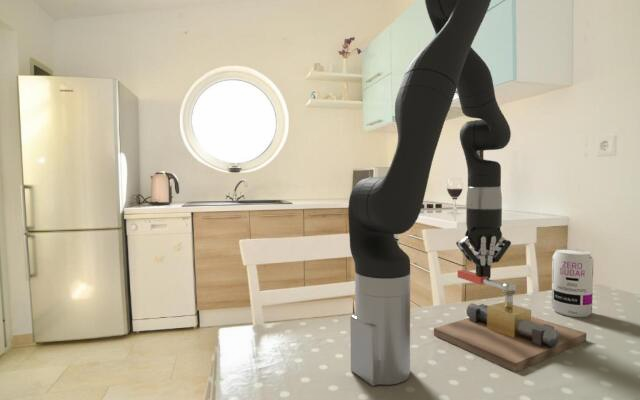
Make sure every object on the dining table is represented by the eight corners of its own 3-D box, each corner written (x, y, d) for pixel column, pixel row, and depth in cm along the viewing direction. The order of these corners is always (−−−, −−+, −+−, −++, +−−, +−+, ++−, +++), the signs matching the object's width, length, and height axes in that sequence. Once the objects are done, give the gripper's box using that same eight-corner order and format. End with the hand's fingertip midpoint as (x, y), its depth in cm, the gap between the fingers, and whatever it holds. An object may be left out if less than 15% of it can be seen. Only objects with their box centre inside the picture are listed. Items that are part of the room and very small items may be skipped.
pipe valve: (545, 355, 68) (546, 308, 68) (462, 324, 84) (463, 285, 83) (562, 348, 71) (563, 302, 71) (479, 319, 87) (479, 281, 86)
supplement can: (578, 307, 96) (580, 248, 95) (599, 318, 87) (601, 255, 87) (545, 306, 96) (546, 248, 96) (562, 317, 88) (564, 254, 88)
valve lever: (519, 292, 76) (519, 285, 76) (509, 294, 75) (510, 286, 75) (465, 276, 90) (465, 269, 90) (456, 277, 89) (456, 270, 89)
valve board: (515, 372, 64) (515, 363, 64) (433, 335, 79) (433, 328, 79) (586, 340, 76) (586, 333, 76) (503, 313, 91) (503, 307, 91)
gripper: (465, 208, 82) (465, 286, 83) (520, 206, 84) (519, 283, 85) (449, 206, 89) (448, 278, 90) (499, 204, 91) (499, 275, 92)
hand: (483, 280), depth 88 cm, fingers closed
